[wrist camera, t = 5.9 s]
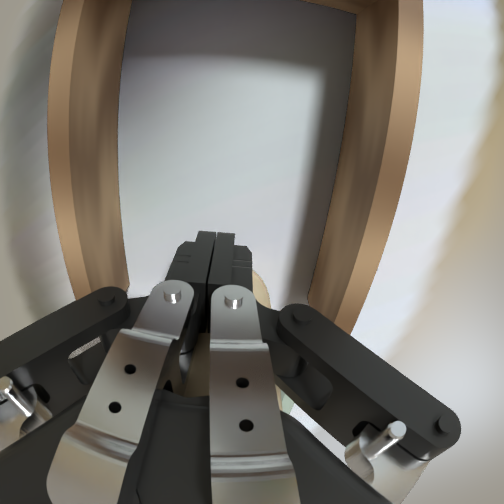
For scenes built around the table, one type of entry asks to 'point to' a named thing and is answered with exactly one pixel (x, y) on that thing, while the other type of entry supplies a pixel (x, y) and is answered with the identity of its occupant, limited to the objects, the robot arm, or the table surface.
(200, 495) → the robot arm
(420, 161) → the table surface
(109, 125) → the cubby
